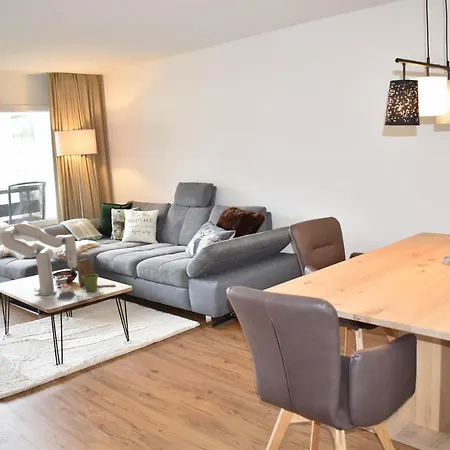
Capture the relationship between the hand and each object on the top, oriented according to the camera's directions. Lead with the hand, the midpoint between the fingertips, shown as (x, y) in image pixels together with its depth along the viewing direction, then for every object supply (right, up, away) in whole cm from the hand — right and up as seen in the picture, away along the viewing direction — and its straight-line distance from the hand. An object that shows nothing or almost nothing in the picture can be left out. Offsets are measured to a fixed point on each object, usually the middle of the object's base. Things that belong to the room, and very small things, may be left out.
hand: (74, 276), depth 393 cm
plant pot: (+12, -11, +2) cm, 16 cm away
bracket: (+20, -8, +12) cm, 25 cm away
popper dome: (-2, -12, -11) cm, 17 cm away
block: (+4, -8, +21) cm, 22 cm away
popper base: (-2, -13, -11) cm, 17 cm away
